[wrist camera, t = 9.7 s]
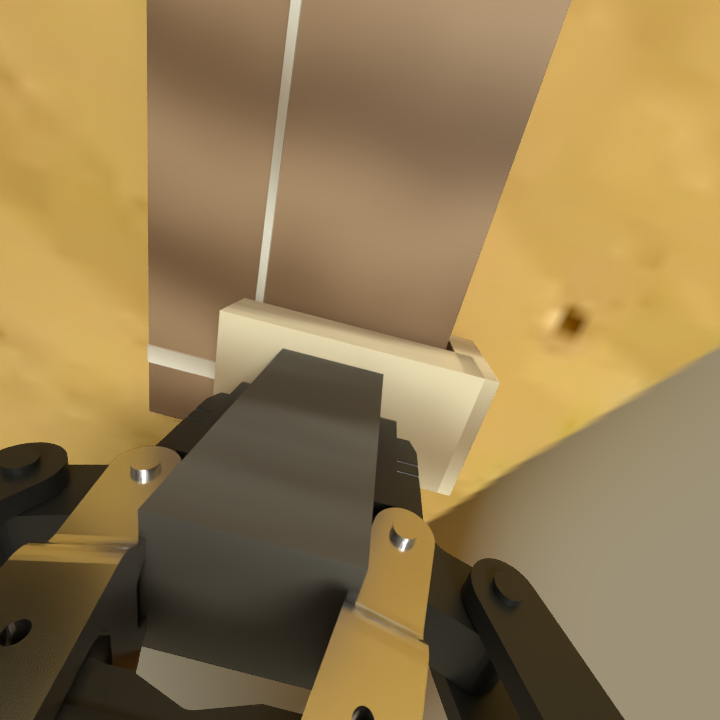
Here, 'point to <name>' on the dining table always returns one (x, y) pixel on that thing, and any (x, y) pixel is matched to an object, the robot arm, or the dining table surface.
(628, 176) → the dining table surface
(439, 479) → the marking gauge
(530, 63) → the walnut board
